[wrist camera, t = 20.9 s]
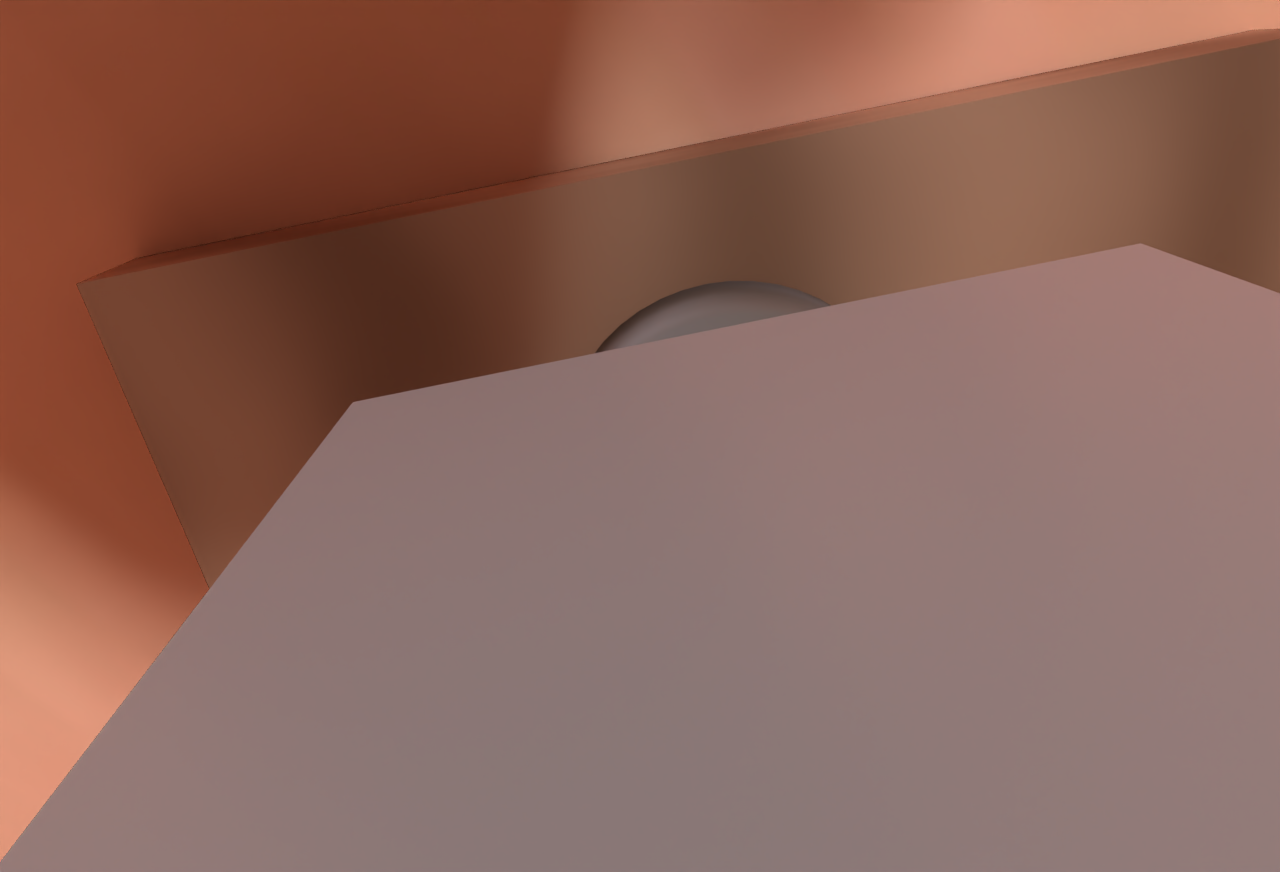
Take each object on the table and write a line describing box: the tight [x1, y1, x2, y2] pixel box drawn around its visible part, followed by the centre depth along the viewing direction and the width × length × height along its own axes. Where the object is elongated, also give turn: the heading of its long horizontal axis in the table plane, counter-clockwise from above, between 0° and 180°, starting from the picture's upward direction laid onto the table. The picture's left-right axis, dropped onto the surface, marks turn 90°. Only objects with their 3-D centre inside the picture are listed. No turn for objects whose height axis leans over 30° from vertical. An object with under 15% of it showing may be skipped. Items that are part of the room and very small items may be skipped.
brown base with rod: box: [77, 29, 1280, 589], centre depth 11 cm, size 20×10×16 cm, turn 101°
